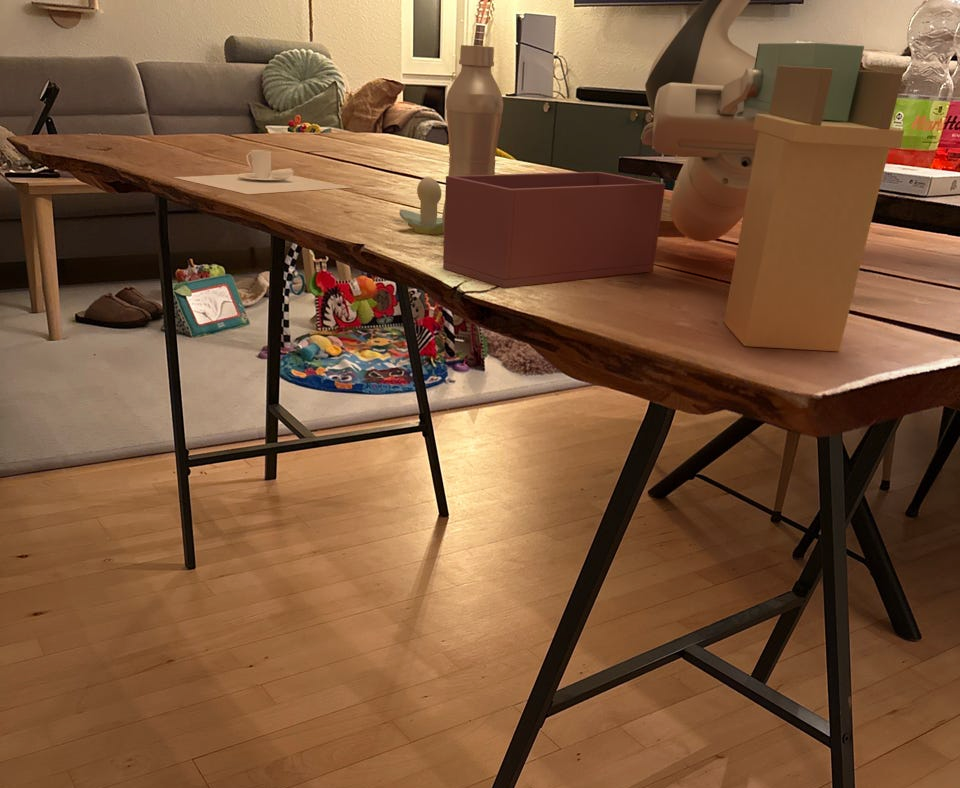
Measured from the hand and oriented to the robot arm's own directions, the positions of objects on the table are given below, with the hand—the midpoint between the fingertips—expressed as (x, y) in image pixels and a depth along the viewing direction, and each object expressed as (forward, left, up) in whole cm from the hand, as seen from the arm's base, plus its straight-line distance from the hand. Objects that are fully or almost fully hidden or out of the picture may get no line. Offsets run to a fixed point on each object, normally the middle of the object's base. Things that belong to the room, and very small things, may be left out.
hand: (783, 78), depth 85 cm
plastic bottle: (+31, -18, -19) cm, 41 cm away
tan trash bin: (-3, +14, -19) cm, 24 cm away
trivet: (+13, -48, -19) cm, 53 cm away
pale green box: (-1, +6, -2) cm, 7 cm away
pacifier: (+37, -24, -19) cm, 48 cm away
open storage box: (+20, -7, -19) cm, 28 cm away
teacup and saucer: (+71, -56, -19) cm, 92 cm away
